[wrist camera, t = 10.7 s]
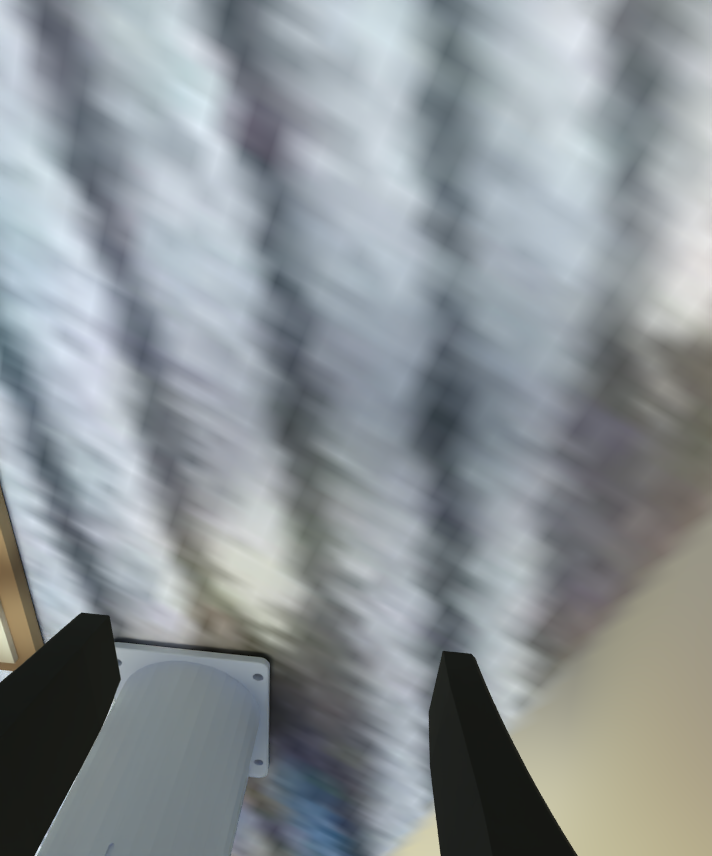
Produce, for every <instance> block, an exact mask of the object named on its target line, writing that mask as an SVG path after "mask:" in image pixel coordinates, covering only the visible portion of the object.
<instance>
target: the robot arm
mask: <svg viewBox="0 0 712 856" xmlns="http://www.w3.org/2000/svg"><path fill="white" fill-rule="evenodd" d="M269 694H270V664H269V662H268V661H267V660H266V659H264V658H261V657H254V656H244V655H235V654H226V653H216V652H207V651H198V650H188V649H179V648H169V647H160V646H151V645H141V644H132V643H122V642H114V638H113V633H112V627H111V622H110V617H109V616H108V615H99V614H89V613H80V614H79V615H78V616H77V617H75V618H74V619H73V620H72V621H71V622H70V623H68V624H67V625H66V626H65V627H64V628H63V629H62V630H60V631H59V632H58V633H57V634H56V635H55V636H54V637H52V638H51V639H50V640H49V641H48V642H47V643H46V644H44V645H43V646H42V647H41V648H40V649H39V650H38V651H36V652H35V653H34V654H33V655H32V656H31V657H29V658H28V659H27V660H26V661H25V662H24V663H23V664H21V665H20V666H19V667H18V668H17V669H16V670H14V671H13V672H12V673H11V674H10V675H8V676H7V677H6V678H5V679H4V680H3V681H1V682H0V856H35V854H36V852H37V850H38V848H39V846H40V844H41V842H42V840H43V838H44V836H45V834H46V833H47V831H48V829H49V827H50V825H51V823H52V821H53V819H54V818H55V816H56V814H57V812H58V810H59V808H60V806H61V804H62V803H63V801H64V799H65V797H66V795H67V793H68V791H69V789H70V788H71V786H72V784H73V782H74V780H75V778H76V776H77V774H78V773H79V774H78V776H77V778H76V780H75V782H74V784H73V786H72V788H71V790H70V792H69V794H68V796H67V798H66V800H65V802H64V804H63V806H62V808H61V810H60V812H59V814H58V816H57V818H56V820H55V822H54V824H53V826H52V827H51V829H50V831H49V833H48V835H47V837H46V839H45V841H44V843H43V845H42V847H41V849H40V851H39V853H38V855H37V856H231V851H232V847H233V843H234V838H235V834H236V830H237V825H238V821H239V816H240V812H241V808H242V803H243V799H244V795H245V790H246V786H247V782H248V777H257V778H262V777H265V776H266V775H267V773H268V768H269ZM114 698H115V703H114V705H113V707H112V709H111V711H110V713H109V715H108V717H107V719H106V716H107V714H108V711H109V709H110V707H111V704H112V701H113V699H114ZM105 719H106V721H105ZM104 721H105V723H104ZM103 723H104V725H103ZM102 726H103V727H102ZM101 728H102V729H101ZM100 730H101V731H100ZM99 732H100V733H99ZM98 734H99V735H98ZM97 736H98V737H97ZM96 738H97V739H96ZM95 740H96V741H95ZM94 742H95V743H94ZM93 744H94V745H93ZM92 746H93V747H92ZM429 747H430V769H431V778H432V787H433V795H434V804H435V812H436V821H437V828H438V837H439V845H440V854H441V856H577V854H576V852H575V851H574V849H573V848H572V846H571V844H570V843H569V841H568V840H567V838H566V836H565V835H564V833H563V832H562V830H561V828H560V826H559V825H558V823H557V822H556V820H555V818H554V816H553V815H552V813H551V811H550V809H549V808H548V806H547V804H546V803H545V801H544V799H543V797H542V796H541V794H540V792H539V790H538V789H537V787H536V785H535V783H534V781H533V779H532V778H531V776H530V774H529V772H528V770H527V769H526V766H525V765H524V763H523V761H522V759H521V757H520V755H519V753H518V751H517V749H516V747H515V745H514V743H513V741H512V739H511V737H510V735H509V733H508V731H507V729H506V727H505V725H504V723H503V721H502V719H501V717H500V715H499V712H498V710H497V708H496V706H495V704H494V702H493V700H492V697H491V695H490V693H489V690H488V688H487V686H486V683H485V681H484V679H483V676H482V674H481V671H480V669H479V666H478V664H477V661H476V659H475V657H474V656H473V655H472V654H467V653H458V652H448V651H443V653H442V657H441V661H440V666H439V670H438V674H437V679H436V683H435V687H434V692H433V696H432V701H431V705H430V709H429ZM91 748H92V749H91ZM90 750H91V751H90ZM89 752H90V753H89ZM88 754H89V755H88ZM87 755H88V757H87ZM86 757H87V759H86ZM85 759H86V760H85ZM84 761H85V762H84ZM83 763H84V764H83ZM82 765H83V766H82ZM81 767H82V768H81ZM80 769H81V770H80ZM79 771H80V772H79Z"/></svg>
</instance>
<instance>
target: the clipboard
mask: <svg viewBox="0 0 712 856" xmlns="http://www.w3.org/2000/svg"><path fill="white" fill-rule="evenodd" d="M43 645H44V644H43V640H42V637H41V633H40V629H39V626H38V622H37V618H36V615H35V611H34V607H33V604H32V600H31V596H30V593H29V589H28V585H27V582H26V578H25V574H24V570H23V567H22V563H21V559H20V556H19V552H18V548H17V545H16V541H15V537H14V534H13V530H12V526H11V523H10V519H9V515H8V512H7V508H6V504H5V501H4V497H3V493H2V490H1V486H0V670H9V671H14V670H16V669H17V668H18V667H19V666H20V665H21V664H23V663H24V662H25V661H26V660H27V659H28V658H29V657H31V656H32V655H33V654H34V653H35V652H36V651H38V650H39V649H40V648H41V647H42V646H43Z"/></svg>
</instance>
